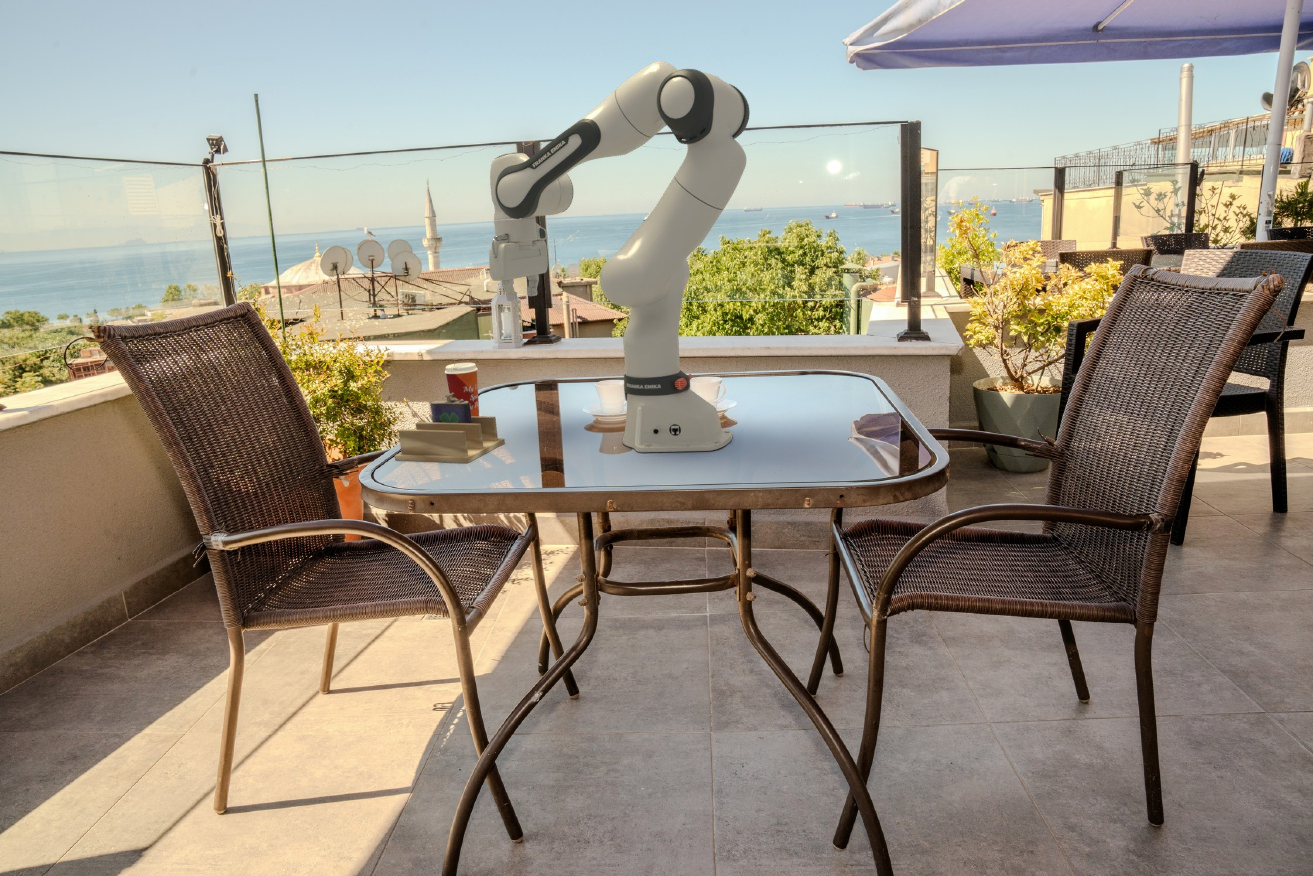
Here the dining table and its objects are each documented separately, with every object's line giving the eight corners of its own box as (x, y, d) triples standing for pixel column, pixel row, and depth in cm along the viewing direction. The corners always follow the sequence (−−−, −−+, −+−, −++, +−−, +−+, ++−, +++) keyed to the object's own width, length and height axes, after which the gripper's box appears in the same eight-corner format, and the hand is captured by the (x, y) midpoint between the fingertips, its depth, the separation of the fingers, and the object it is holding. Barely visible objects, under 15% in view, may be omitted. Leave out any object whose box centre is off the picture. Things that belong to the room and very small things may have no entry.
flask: (433, 444, 183) (426, 394, 180) (441, 440, 186) (435, 391, 183) (471, 445, 180) (465, 395, 177) (478, 442, 183) (472, 392, 180)
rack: (436, 440, 190) (432, 414, 188) (504, 443, 184) (501, 415, 183) (395, 460, 176) (391, 431, 175) (467, 463, 171) (464, 433, 169)
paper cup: (476, 427, 200) (469, 367, 196) (445, 427, 202) (438, 368, 198) (489, 419, 207) (482, 361, 204) (459, 419, 209) (452, 362, 205)
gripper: (505, 234, 175) (512, 303, 178) (550, 230, 194) (555, 292, 197) (478, 236, 177) (485, 304, 181) (525, 231, 196) (531, 293, 199)
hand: (522, 298), depth 189 cm, fingers open, 8 cm apart
